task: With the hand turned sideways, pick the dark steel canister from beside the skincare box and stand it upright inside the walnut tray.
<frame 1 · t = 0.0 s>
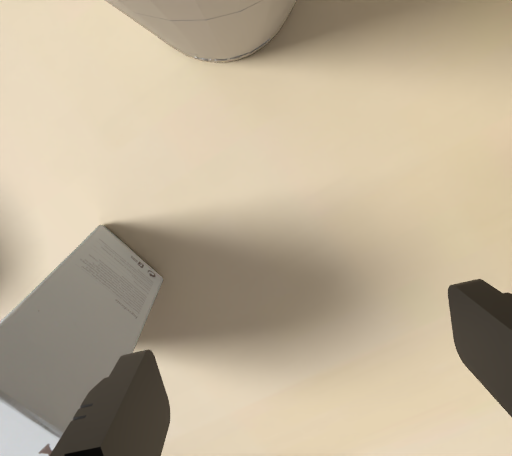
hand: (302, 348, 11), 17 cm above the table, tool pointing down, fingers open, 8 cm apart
skincare box: (98, 289, 29), on the table
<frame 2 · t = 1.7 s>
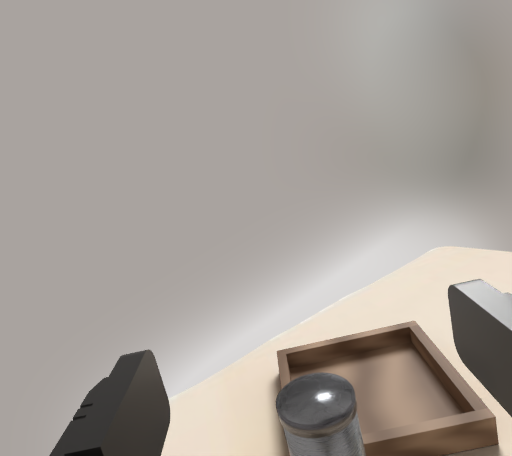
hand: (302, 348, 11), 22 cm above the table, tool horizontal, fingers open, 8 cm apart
walnut tray: (368, 399, 40), on the table
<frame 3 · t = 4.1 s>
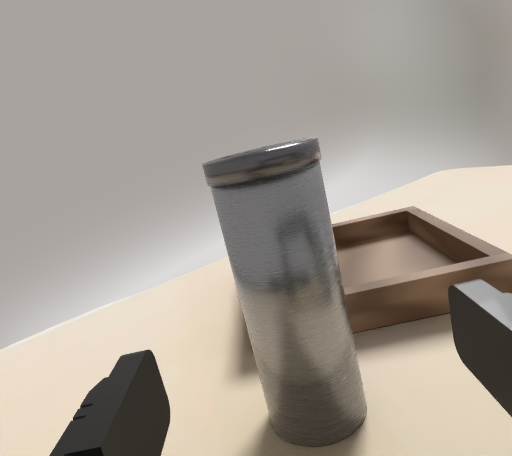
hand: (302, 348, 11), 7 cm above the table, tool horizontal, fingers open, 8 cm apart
steel canister: (317, 409, 19), on the table
walnut tray: (354, 278, 32), on the table
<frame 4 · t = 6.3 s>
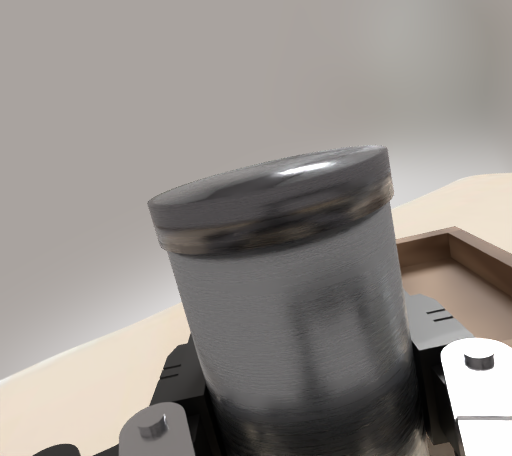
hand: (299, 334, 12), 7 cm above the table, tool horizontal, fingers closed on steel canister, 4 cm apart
walnut tray: (387, 329, 24), on the table
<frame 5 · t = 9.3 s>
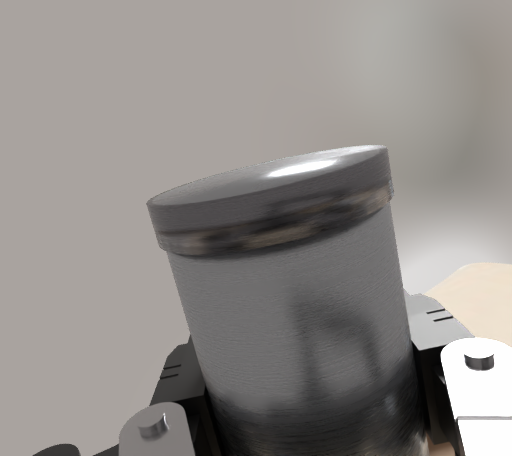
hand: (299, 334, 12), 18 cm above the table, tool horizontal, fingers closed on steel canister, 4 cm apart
when the fingers open (9 cm above the table, at t = 12.7 s): steel canister drops 1 cm, resting on walnut tray.
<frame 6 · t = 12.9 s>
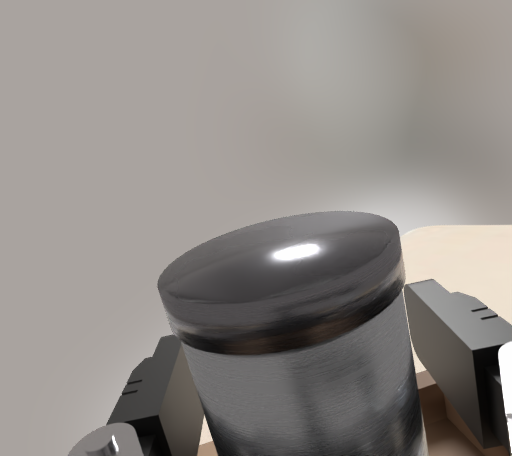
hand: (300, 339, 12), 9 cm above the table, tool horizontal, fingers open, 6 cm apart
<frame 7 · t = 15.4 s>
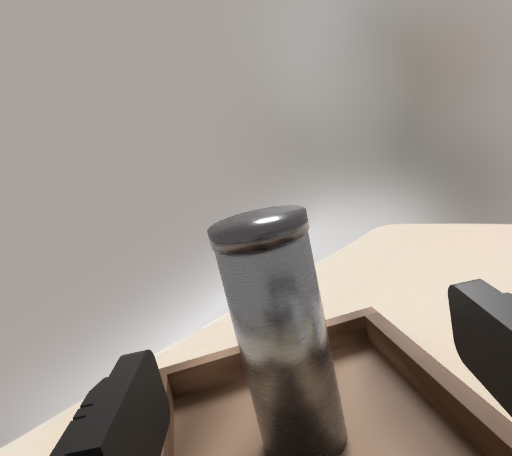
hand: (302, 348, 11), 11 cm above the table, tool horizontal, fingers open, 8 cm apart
steel canister: (305, 437, 22), point 1 cm above the table, touching walnut tray
walnut tray: (306, 446, 22), on the table
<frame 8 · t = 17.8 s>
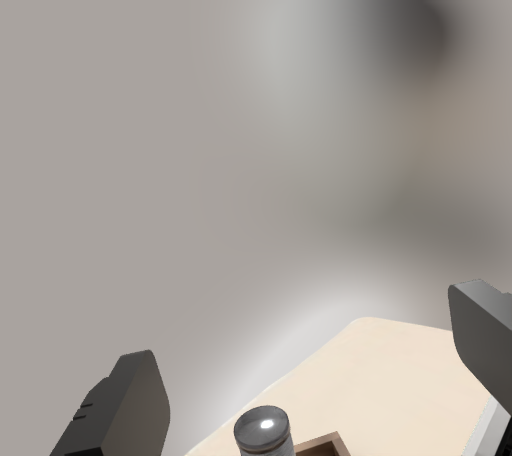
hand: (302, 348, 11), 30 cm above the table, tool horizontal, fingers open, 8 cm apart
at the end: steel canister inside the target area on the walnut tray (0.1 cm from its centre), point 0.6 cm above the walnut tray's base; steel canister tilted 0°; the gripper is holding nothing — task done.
